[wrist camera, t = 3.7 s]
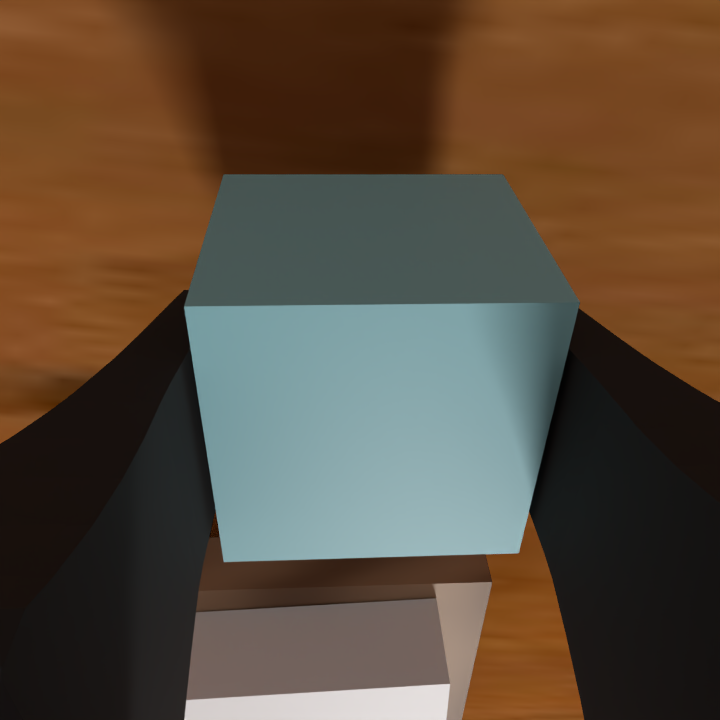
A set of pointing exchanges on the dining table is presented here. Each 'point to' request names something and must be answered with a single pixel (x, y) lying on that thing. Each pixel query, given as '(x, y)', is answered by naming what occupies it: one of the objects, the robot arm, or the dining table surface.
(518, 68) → the dining table surface
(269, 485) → the teal cube
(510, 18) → the dining table surface
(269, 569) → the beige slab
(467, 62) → the dining table surface
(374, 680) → the white slab
